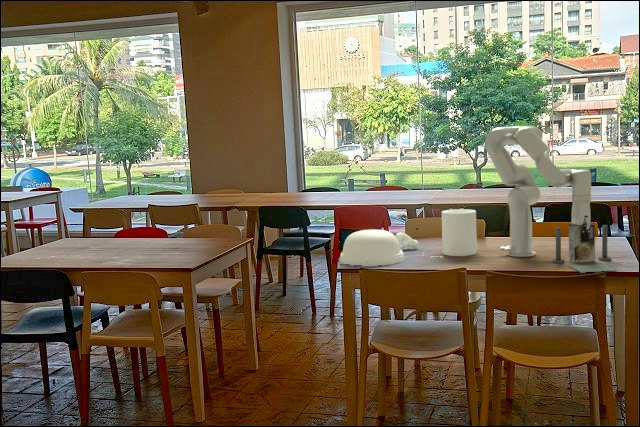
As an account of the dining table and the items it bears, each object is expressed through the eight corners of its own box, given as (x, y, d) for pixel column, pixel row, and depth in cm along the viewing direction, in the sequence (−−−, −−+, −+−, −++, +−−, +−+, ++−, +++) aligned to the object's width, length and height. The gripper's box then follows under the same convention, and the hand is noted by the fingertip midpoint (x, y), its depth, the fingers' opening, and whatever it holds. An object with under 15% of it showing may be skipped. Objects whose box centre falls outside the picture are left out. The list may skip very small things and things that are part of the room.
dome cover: (345, 254, 339) (344, 226, 337) (406, 253, 333) (405, 224, 331) (334, 267, 307) (333, 236, 306) (401, 266, 302) (400, 235, 300)
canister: (442, 250, 335) (441, 209, 333) (476, 249, 332) (475, 208, 330) (442, 256, 320) (441, 214, 317) (477, 255, 317) (476, 213, 314)
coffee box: (588, 259, 297) (588, 222, 295) (595, 261, 291) (595, 224, 289) (568, 260, 297) (568, 223, 295) (574, 262, 291) (574, 225, 289)
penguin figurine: (395, 231, 344) (418, 232, 344) (394, 248, 345) (417, 249, 345) (395, 233, 338) (420, 234, 337) (394, 250, 339) (418, 251, 339)
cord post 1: (554, 263, 292) (554, 228, 290) (550, 261, 297) (550, 227, 295) (566, 262, 292) (566, 228, 290) (562, 260, 297) (561, 226, 295)
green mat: (581, 273, 271) (581, 271, 271) (570, 267, 283) (570, 265, 283) (616, 271, 271) (616, 270, 271) (603, 265, 283) (603, 264, 283)
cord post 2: (601, 261, 292) (601, 226, 290) (596, 259, 297) (596, 224, 295) (613, 260, 292) (613, 225, 290) (608, 258, 297) (608, 224, 295)
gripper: (565, 197, 299) (565, 237, 302) (580, 201, 282) (580, 244, 284) (582, 196, 299) (582, 236, 302) (598, 200, 282) (598, 243, 284)
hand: (581, 239), depth 293 cm, fingers closed on coffee box, 6 cm apart
